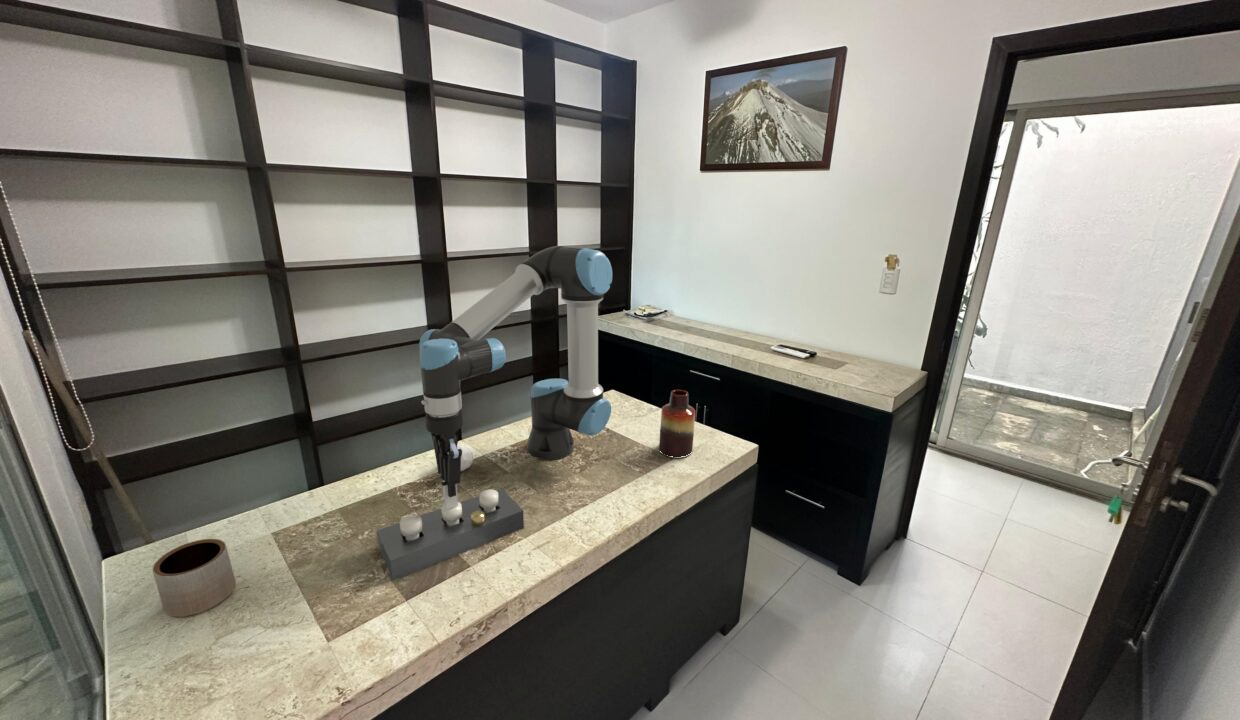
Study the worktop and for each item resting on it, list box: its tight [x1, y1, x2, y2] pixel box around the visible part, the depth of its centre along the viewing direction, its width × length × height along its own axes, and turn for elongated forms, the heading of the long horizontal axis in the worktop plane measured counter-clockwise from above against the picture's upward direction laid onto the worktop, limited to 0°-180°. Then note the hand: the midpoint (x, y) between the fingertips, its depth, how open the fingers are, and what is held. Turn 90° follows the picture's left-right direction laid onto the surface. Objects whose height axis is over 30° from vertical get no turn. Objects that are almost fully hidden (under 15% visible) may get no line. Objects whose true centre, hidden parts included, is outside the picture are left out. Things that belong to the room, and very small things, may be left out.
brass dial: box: [471, 511, 485, 526], centre depth 112 cm, size 3×3×2 cm
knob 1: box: [399, 514, 422, 542], centre depth 108 cm, size 4×4×8 cm
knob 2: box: [478, 489, 499, 514], centre depth 119 cm, size 4×4×8 cm
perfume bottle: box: [457, 443, 474, 472], centre depth 142 cm, size 8×8×12 cm
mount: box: [376, 488, 525, 581], centre depth 114 cm, size 30×12×5 cm, turn 128°
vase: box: [658, 389, 696, 457], centre depth 157 cm, size 11×11×20 cm
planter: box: [152, 538, 236, 618], centre depth 94 cm, size 11×11×10 cm
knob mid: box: [440, 501, 462, 527], centre depth 113 cm, size 4×4×8 cm
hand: (451, 505), depth 112 cm, fingers closed
